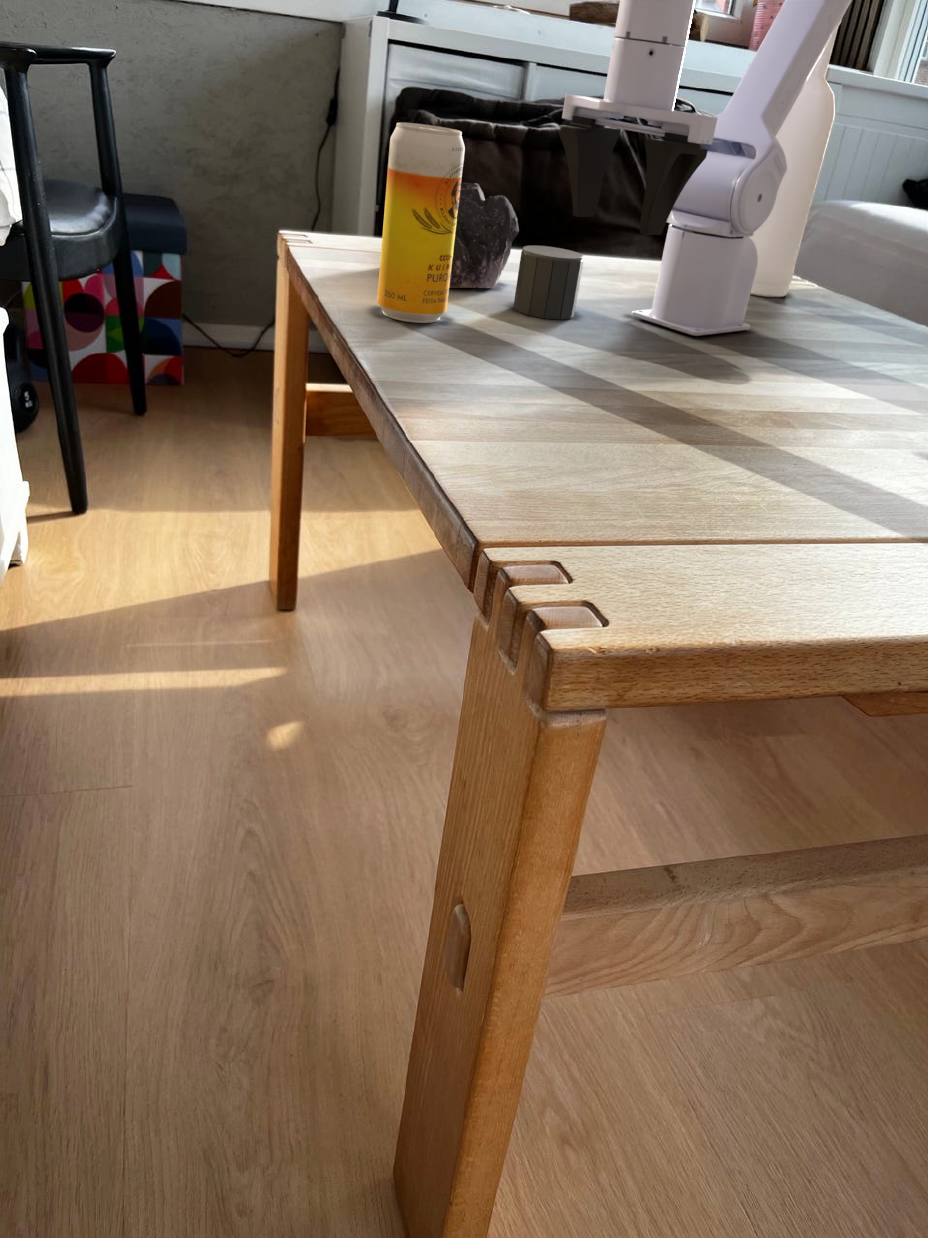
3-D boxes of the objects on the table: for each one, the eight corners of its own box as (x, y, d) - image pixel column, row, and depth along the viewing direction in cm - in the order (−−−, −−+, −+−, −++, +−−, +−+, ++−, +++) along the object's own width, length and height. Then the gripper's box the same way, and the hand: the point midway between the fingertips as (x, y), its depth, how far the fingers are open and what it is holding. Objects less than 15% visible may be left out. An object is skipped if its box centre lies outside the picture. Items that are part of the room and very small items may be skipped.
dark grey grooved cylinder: (542, 302, 101) (551, 244, 99) (585, 317, 98) (596, 257, 95) (501, 305, 98) (510, 245, 95) (544, 320, 94) (554, 259, 92)
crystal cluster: (355, 281, 102) (367, 177, 97) (402, 252, 113) (415, 156, 108) (481, 317, 100) (500, 212, 95) (516, 283, 111) (536, 187, 106)
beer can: (437, 328, 87) (458, 134, 79) (367, 316, 87) (382, 122, 80) (451, 314, 92) (473, 131, 85) (386, 303, 93) (402, 120, 85)
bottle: (796, 293, 125) (873, 9, 110) (775, 300, 119) (854, 1, 104) (734, 279, 128) (801, 2, 114) (711, 285, 122) (778, -6, 108)
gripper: (549, 29, 83) (523, 208, 89) (692, 45, 74) (652, 242, 80) (606, 39, 87) (578, 209, 93) (748, 55, 78) (705, 241, 85)
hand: (615, 224), depth 87 cm, fingers open, 7 cm apart
